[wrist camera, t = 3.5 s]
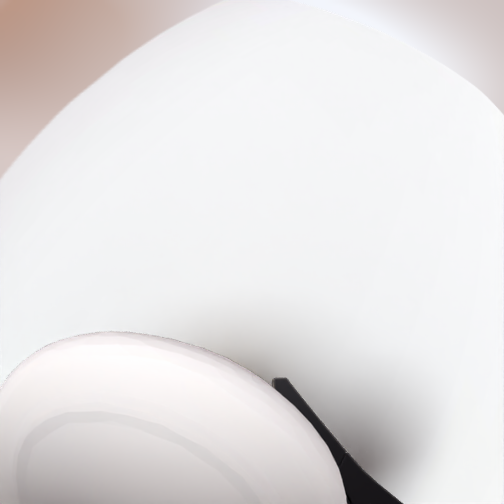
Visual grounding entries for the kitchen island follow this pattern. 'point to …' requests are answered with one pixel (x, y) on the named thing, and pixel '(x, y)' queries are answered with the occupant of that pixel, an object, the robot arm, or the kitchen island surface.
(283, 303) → the kitchen island surface
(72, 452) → the sprinkles bottle
